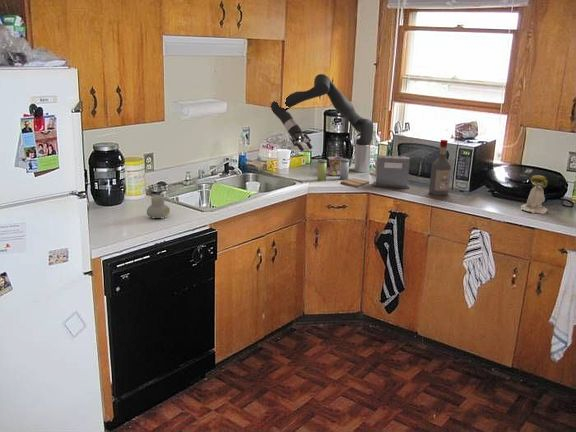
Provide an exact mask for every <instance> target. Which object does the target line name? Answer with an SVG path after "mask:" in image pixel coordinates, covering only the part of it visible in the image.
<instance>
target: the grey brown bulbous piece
mask: <svg viewBox="0 0 576 432" xmlns="http://www.w3.org/2000/svg"><path fill="white" fill-rule="evenodd" d="M150 200H151V202H150V206H148V207H147V209H146V215H147V216H148V217H149V216H150V218H151V217H154V218H161V217H165V216H166V215H168V216H169V214H170V211H171V210H170V207H169V206H168V205H166V204H165V196H163V195H157V194H156V195H153V196H151V199H150ZM154 218H153V219H154ZM165 218H166V217H165Z"/></svg>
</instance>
